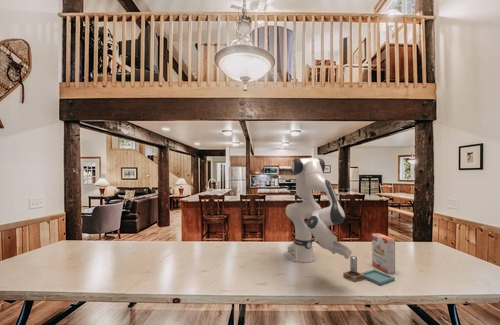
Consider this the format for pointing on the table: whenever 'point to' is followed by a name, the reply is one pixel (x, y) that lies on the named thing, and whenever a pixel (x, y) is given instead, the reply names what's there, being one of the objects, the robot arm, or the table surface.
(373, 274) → the tray
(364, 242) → the table surface
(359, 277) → the collar
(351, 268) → the peg
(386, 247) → the cracker box
